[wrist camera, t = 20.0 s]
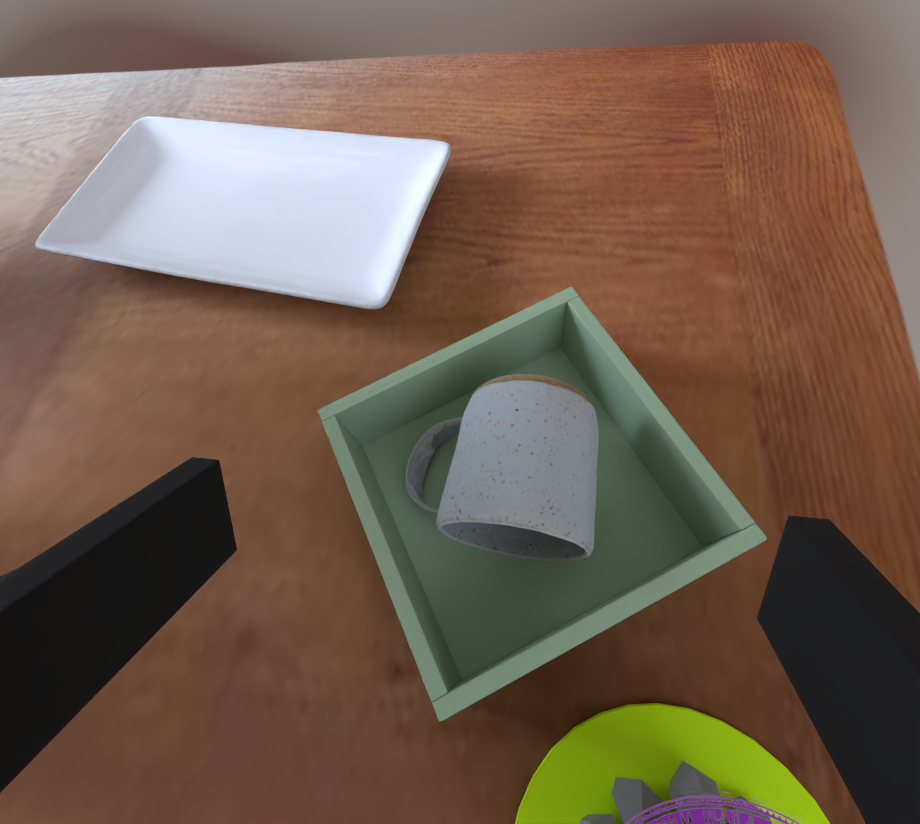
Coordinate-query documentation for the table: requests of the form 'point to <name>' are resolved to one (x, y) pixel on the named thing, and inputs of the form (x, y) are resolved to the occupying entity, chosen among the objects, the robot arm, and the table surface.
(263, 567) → the table surface
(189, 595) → the robot arm
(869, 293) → the table surface
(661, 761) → the toy cauldron
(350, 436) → the bin
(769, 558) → the table surface
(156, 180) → the tray
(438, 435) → the ceramic mug
